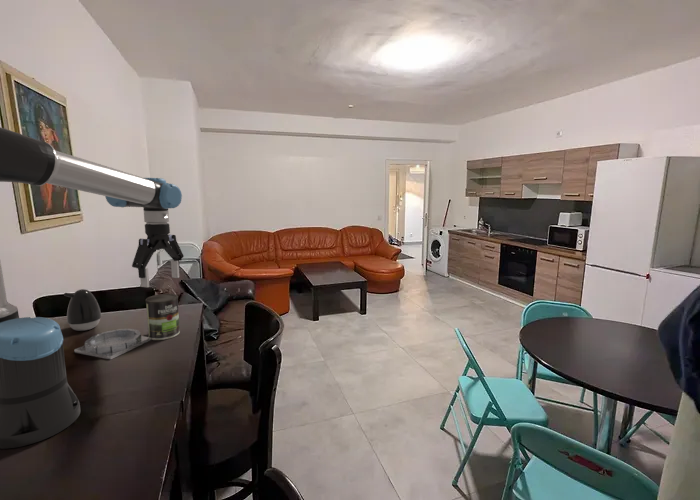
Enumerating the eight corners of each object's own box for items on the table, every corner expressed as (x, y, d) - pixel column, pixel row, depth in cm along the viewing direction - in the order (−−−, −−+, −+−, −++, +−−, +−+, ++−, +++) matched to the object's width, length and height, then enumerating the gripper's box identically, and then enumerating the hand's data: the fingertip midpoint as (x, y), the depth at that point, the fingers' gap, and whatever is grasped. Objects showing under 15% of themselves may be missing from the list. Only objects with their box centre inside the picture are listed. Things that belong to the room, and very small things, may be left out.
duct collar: (110, 359, 105) (109, 350, 104) (74, 352, 109) (73, 343, 108) (151, 340, 119) (150, 332, 119) (117, 334, 123) (117, 326, 123)
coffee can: (185, 333, 125) (183, 297, 123) (155, 343, 117) (153, 304, 115) (172, 326, 131) (169, 291, 129) (143, 335, 123) (140, 297, 121)
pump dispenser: (72, 325, 130) (68, 287, 128) (104, 321, 135) (101, 284, 132) (63, 335, 121) (58, 294, 119) (98, 331, 125) (94, 291, 123)
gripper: (134, 226, 105) (139, 292, 108) (191, 220, 128) (194, 275, 132) (115, 225, 107) (121, 290, 110) (175, 220, 130) (178, 273, 134)
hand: (161, 282), depth 121 cm, fingers open, 13 cm apart
